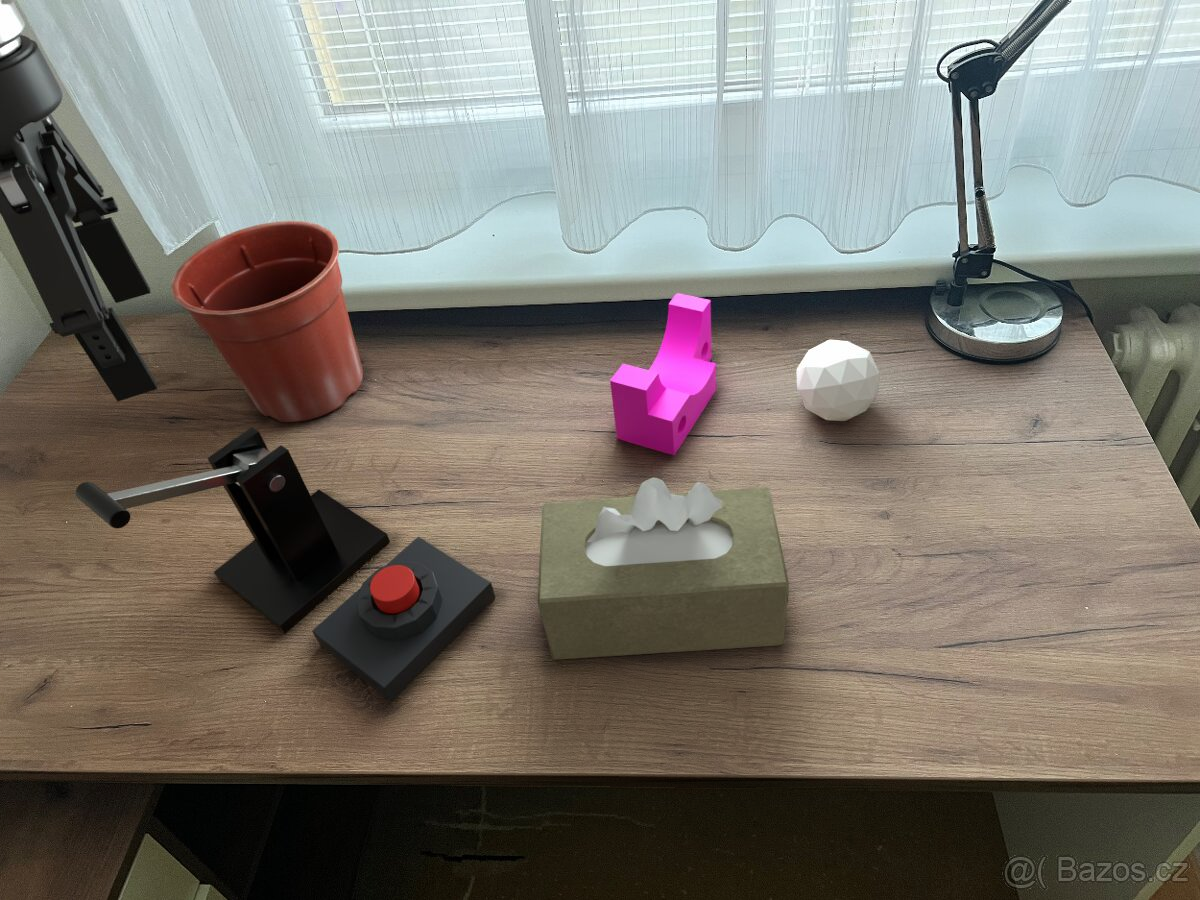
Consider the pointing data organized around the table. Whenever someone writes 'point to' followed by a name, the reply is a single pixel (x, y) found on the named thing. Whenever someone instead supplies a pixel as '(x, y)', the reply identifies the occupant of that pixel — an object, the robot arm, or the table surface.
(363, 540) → the bracket
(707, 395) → the toy block
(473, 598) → the button block
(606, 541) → the tissue box
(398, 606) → the button
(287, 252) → the flower pot
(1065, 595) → the table surface
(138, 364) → the robot arm
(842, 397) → the ball
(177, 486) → the lever
